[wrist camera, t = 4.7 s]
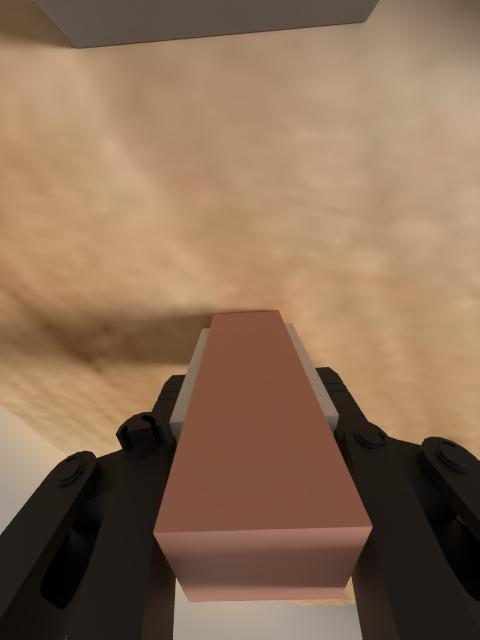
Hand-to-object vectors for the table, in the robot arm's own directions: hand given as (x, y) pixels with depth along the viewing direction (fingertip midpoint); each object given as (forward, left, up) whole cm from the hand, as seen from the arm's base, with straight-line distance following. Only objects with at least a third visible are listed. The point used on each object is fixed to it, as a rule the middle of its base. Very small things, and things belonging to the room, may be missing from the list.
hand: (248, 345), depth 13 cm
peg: (0, 0, -1) cm, 1 cm away
